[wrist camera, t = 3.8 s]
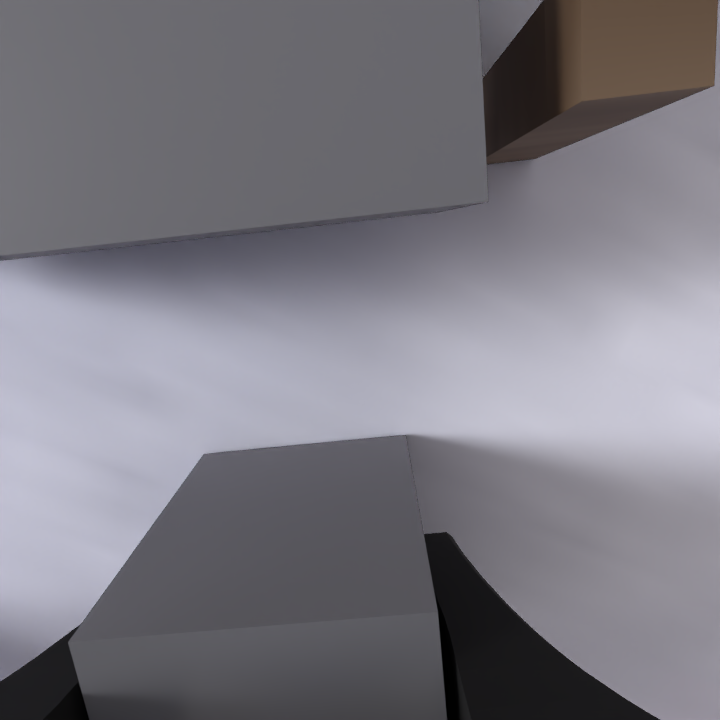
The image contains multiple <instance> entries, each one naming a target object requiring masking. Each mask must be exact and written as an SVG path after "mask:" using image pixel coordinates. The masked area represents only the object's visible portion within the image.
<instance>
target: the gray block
mask: <svg viewBox="0 0 720 720" xmlns="http://www.w3.org/2000/svg"><path fill="white" fill-rule="evenodd" d="M68 644H69V648H70V651H71V655H72V659H73V662H74V666H75V670H76V673H77V677H78V680H79V684H80V688H81V691H82V695H83V698H84V702H85V706H86V709H87V713H88V717H89V720H447V714H446V702H445V690H444V678H443V667H442V655H441V643H440V631H439V619H438V610H437V604H436V599H435V593H434V588H433V582H432V577H431V571H430V566H429V560H428V555H427V550H426V544H425V539H424V533H423V528H422V522H421V517H420V511H419V506H418V500H417V495H416V489H415V484H414V478H413V473H412V467H411V462H410V456H409V451H408V445H407V440H406V435H401V436H390V437H380V438H369V439H359V440H348V441H338V442H327V443H317V444H306V445H295V446H285V447H274V448H264V449H253V450H243V451H232V452H222V453H211V454H204V455H203V456H202V457H201V459H200V460H199V461H198V463H197V464H196V466H195V467H194V468H193V470H192V471H191V473H190V474H189V475H188V477H187V478H186V479H185V481H184V482H183V484H182V485H181V486H180V488H179V489H178V491H177V492H176V493H175V495H174V496H173V497H172V499H171V500H170V502H169V503H168V504H167V506H166V507H165V509H164V510H163V511H162V513H161V514H160V515H159V517H158V518H157V520H156V521H155V522H154V524H153V525H152V527H151V528H150V529H149V531H148V532H147V533H146V535H145V536H144V538H143V539H142V540H141V542H140V543H139V545H138V546H137V547H136V549H135V550H134V551H133V553H132V554H131V556H130V557H129V558H128V560H127V561H126V563H125V564H124V565H123V567H122V568H121V569H120V571H119V572H118V574H117V575H116V576H115V578H114V579H113V581H112V582H111V583H110V585H109V586H108V587H107V589H106V590H105V592H104V593H103V594H102V596H101V597H100V599H99V600H98V601H97V603H96V604H95V605H94V607H93V608H92V610H91V611H90V612H89V614H88V615H87V617H86V618H85V619H84V621H83V622H82V624H81V625H80V626H79V628H78V629H77V630H76V632H75V633H74V635H73V636H72V637H71V639H70V640H69V642H68Z"/></svg>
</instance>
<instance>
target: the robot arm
mask: <svg viewBox="0 0 720 720" xmlns="http://www.w3.org/2000/svg"><path fill="white" fill-rule="evenodd" d="M424 539H425V544H426V550H427V555H428V560H429V566H430V571H431V577H432V582H433V588H434V593H435V599H436V604H437V610H438V619H439V631H440V643H441V655H442V667H443V678H444V690H445V702H446V714H447V720H660V719H658V718H656V717H654V716H653V715H651V714H649V713H647V712H646V711H644V710H643V709H641V708H639V707H638V706H636V705H634V704H633V703H631V702H630V701H628V700H626V699H625V698H623V697H622V696H620V695H619V694H617V693H616V692H614V691H613V690H611V689H610V688H608V687H607V686H606V685H604V684H603V683H601V682H600V681H598V680H597V679H595V678H594V677H592V676H591V675H589V674H588V673H586V672H585V671H584V670H582V669H581V668H579V667H578V666H577V665H575V664H574V663H573V662H571V661H570V660H569V659H568V658H566V657H565V656H564V655H563V654H561V653H560V652H559V651H558V650H557V649H555V648H554V647H553V646H552V645H550V644H549V643H548V642H547V641H546V640H545V639H544V638H542V637H541V636H540V635H539V634H538V633H537V632H536V631H535V630H533V629H532V628H531V627H530V626H529V625H528V624H527V623H526V622H525V621H524V620H523V619H522V618H521V617H520V616H519V615H518V614H517V613H516V612H515V611H514V610H512V609H511V607H510V606H509V605H508V604H507V603H506V602H505V601H504V600H503V599H502V598H501V597H500V596H499V595H498V594H497V593H496V592H495V590H494V589H493V588H492V587H491V586H490V585H489V584H488V583H487V582H486V581H485V579H484V578H483V577H482V576H481V575H480V574H479V572H478V571H477V570H476V569H475V568H474V566H473V565H472V564H471V563H470V561H469V560H468V559H467V557H466V556H465V555H464V554H463V552H462V551H461V549H460V548H459V547H458V545H457V544H456V542H455V541H454V539H453V537H452V536H450V535H449V534H448V533H447V532H443V533H432V534H424ZM80 625H81V624H80ZM80 625H79V626H80ZM79 626H78V627H76V628H75V629H74V630H72V631H71V632H70V633H68V634H67V635H66V636H64V637H63V638H62V639H60V640H59V641H58V642H56V643H55V644H53V645H52V646H51V647H49V648H48V649H47V650H45V651H44V652H43V653H41V654H40V655H39V656H37V657H36V658H35V659H33V660H32V661H30V662H29V663H27V664H26V665H25V666H23V667H22V668H20V669H19V670H17V671H16V672H14V673H13V674H11V675H10V676H8V677H7V678H5V679H4V680H2V681H1V682H0V720H89V717H88V713H87V709H86V706H85V702H84V698H83V695H82V691H81V688H80V684H79V680H78V677H77V673H76V670H75V666H74V662H73V659H72V655H71V651H70V648H69V644H68V642H69V640H70V639H71V637H72V636H73V635H74V633H75V632H76V630H77V629H78V628H79Z"/></svg>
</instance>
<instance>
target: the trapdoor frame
mask: <svg viewBox="0 0 720 720" xmlns="http://www.w3.org/2000/svg"><path fill="white" fill-rule="evenodd" d="M717 10H718V0H544V1H543V2H542V3H541V4H540V6H539V7H538V8H537V10H536V11H535V12H534V14H533V15H532V16H531V17H530V19H529V20H528V21H527V23H526V24H525V25H524V26H523V28H522V29H521V30H520V32H519V33H518V34H517V35H516V37H515V38H514V39H513V41H512V42H511V43H510V44H509V46H508V47H507V48H506V50H505V51H504V52H503V54H502V55H501V56H500V57H499V59H498V60H497V61H496V63H495V64H494V65H493V66H492V68H491V69H490V70H489V72H488V73H487V74H486V75H485V77H484V78H483V79H482V80H483V100H484V121H485V142H486V162H487V164H494V163H503V162H512V161H520V160H529V159H536V158H538V157H541V156H543V155H546V154H548V153H551V152H553V151H555V150H558V149H560V148H563V147H565V146H568V145H570V144H573V143H575V142H578V141H580V140H582V139H585V138H587V137H590V136H592V135H595V134H597V133H600V132H602V131H604V130H607V129H609V128H612V127H614V126H617V125H619V124H622V123H624V122H627V121H629V120H631V119H634V118H636V117H639V116H641V115H644V114H646V113H649V112H651V111H654V110H656V109H658V108H661V107H663V106H666V105H668V104H671V103H673V102H676V101H678V100H681V99H683V98H685V97H688V96H690V95H693V94H695V93H698V92H700V91H703V90H705V89H708V88H710V87H712V86H714V79H715V56H716V33H717Z"/></svg>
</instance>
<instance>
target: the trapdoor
mask: <svg viewBox="0 0 720 720" xmlns="http://www.w3.org/2000/svg"><path fill="white" fill-rule="evenodd" d="M484 202H488V183H487V162H486V142H485V121H484V100H483V80H482V59H481V39H480V18H479V0H0V261H1V260H10V259H19V258H28V257H38V256H47V255H56V254H65V253H74V252H83V251H92V250H101V249H110V248H119V247H128V246H137V245H146V244H155V243H164V242H173V241H183V240H192V239H201V238H210V237H219V236H228V235H237V234H246V233H255V232H264V231H273V230H282V229H291V228H300V227H309V226H318V225H327V224H337V223H346V222H355V221H364V220H373V219H382V218H391V217H400V216H409V215H418V214H427V213H436V212H441V211H446V210H451V209H456V208H461V207H465V206H470V205H475V204H480V203H484Z"/></svg>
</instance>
